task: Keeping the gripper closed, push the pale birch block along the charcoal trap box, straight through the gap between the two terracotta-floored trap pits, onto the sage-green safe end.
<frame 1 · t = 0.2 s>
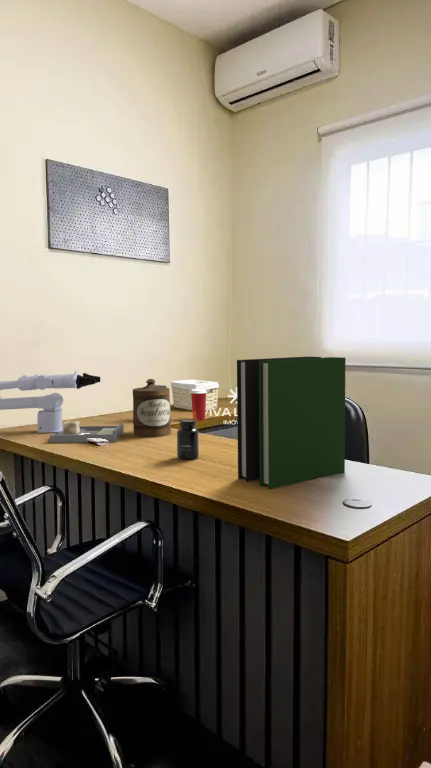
hand: (97, 380, 218), 21 cm above the table, tool horizontal, fingers open, 7 cm apart
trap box: (88, 437, 206), on the table
storage basket: (194, 409, 285), on the table
paper cup: (199, 420, 246), on the table
coffee box: (155, 420, 246), on the table
upright hardcover books: (290, 475, 146), on the table
wooden container: (152, 434, 212), on the table
birch block: (71, 432, 206), point 2 cm above the table, touching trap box
supplement bottle: (188, 458, 169), on the table
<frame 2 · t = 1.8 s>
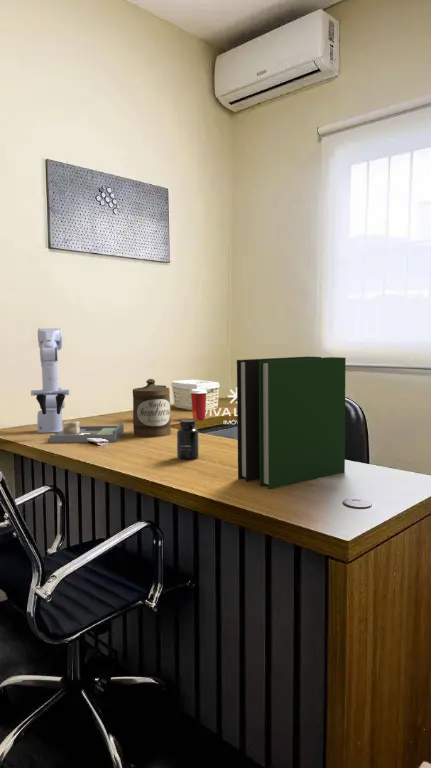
hand: (51, 413, 205), 9 cm above the table, tool pointing down, fingers open, 5 cm apart
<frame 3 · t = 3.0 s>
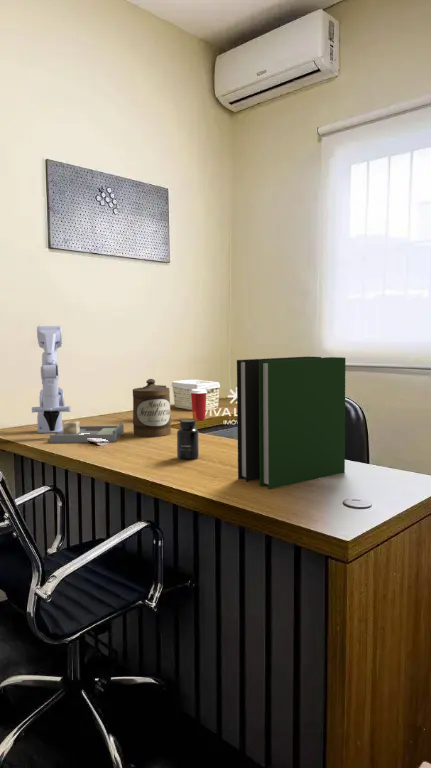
hand: (52, 430, 206), 3 cm above the table, tool pointing down, fingers closed
nothing on the table moved.
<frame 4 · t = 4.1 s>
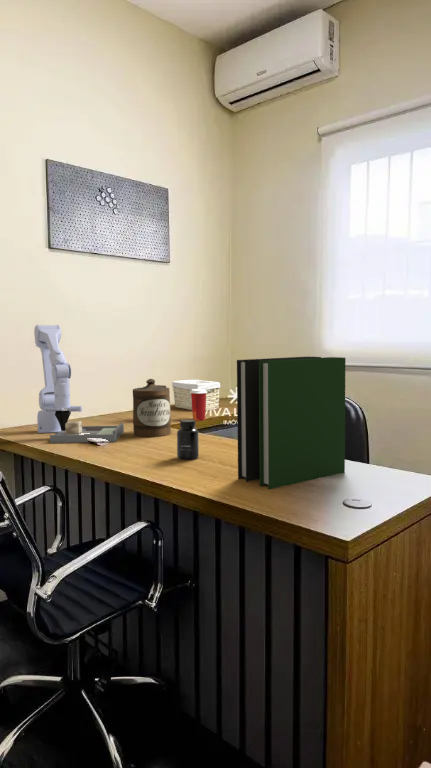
hand: (63, 430, 206), 3 cm above the table, tool pointing down, fingers closed
birch block: (74, 432, 206), point 2 cm above the table, touching gripper
everything else where it was.
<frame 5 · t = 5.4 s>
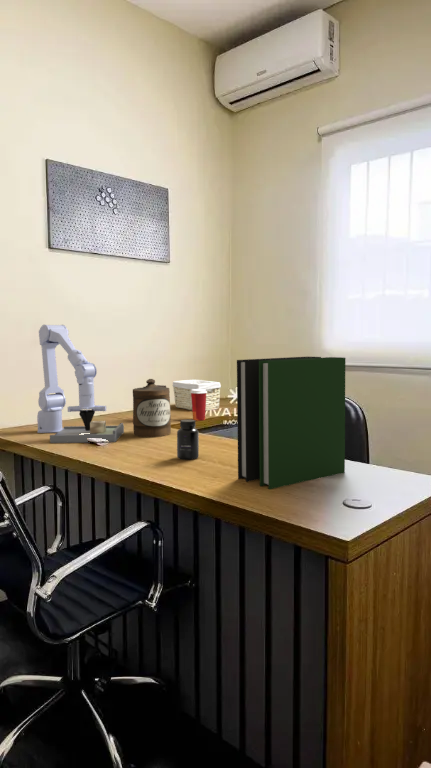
hand: (87, 429, 206), 3 cm above the table, tool pointing down, fingers closed
birch block: (98, 432, 206), point 2 cm above the table, touching gripper
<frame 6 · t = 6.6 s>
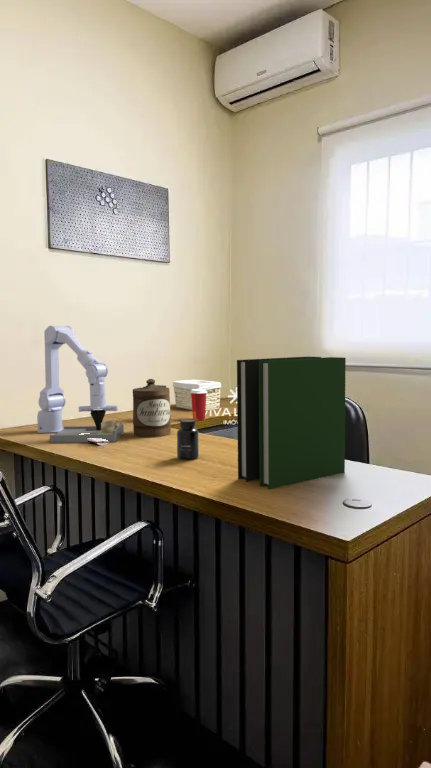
hand: (98, 429, 206), 3 cm above the table, tool pointing down, fingers closed
birch block: (109, 431, 206), point 2 cm above the table, touching gripper, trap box
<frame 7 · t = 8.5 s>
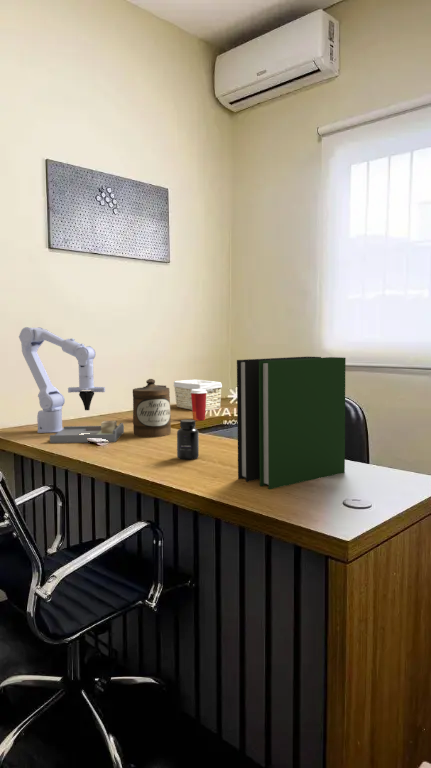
hand: (87, 410, 215), 9 cm above the table, tool pointing down, fingers closed
birch block: (109, 431, 206), point 2 cm above the table, touching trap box
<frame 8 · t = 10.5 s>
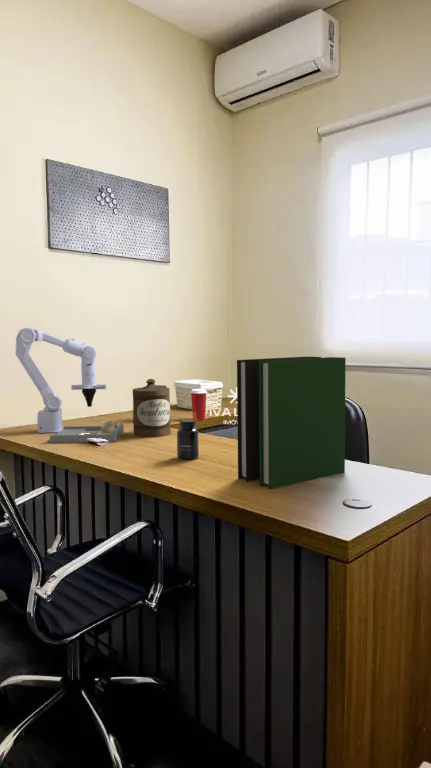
hand: (89, 406, 226), 9 cm above the table, tool pointing down, fingers closed
at the end: birch block 0.5 cm from the target spot on the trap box, point 2.0 cm above the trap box's base; birch block tilted 0° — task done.
